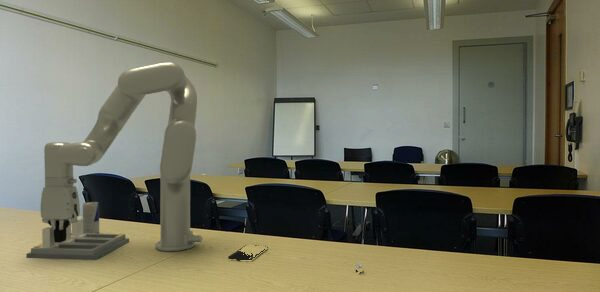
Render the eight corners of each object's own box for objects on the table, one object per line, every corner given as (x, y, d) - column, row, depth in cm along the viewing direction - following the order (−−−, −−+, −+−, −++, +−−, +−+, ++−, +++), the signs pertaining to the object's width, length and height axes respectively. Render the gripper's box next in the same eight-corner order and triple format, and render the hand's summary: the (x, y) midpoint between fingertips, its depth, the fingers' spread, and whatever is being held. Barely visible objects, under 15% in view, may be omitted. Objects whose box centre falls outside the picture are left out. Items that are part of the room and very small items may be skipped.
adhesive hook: (353, 272, 112) (353, 261, 112) (361, 271, 113) (361, 260, 113) (358, 276, 110) (358, 265, 110) (366, 275, 111) (367, 264, 110)
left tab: (59, 249, 127) (59, 227, 126) (52, 252, 123) (51, 229, 123) (45, 248, 127) (45, 226, 127) (38, 252, 123) (37, 229, 123)
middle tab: (74, 243, 133) (74, 222, 133) (68, 246, 130) (68, 224, 129) (62, 243, 133) (61, 222, 133) (55, 246, 130) (55, 224, 130)
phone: (268, 246, 134) (250, 259, 119) (268, 249, 134) (250, 263, 119) (246, 244, 136) (226, 257, 121) (246, 247, 136) (226, 260, 121)
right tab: (86, 238, 139) (86, 218, 139) (80, 241, 136) (80, 220, 136) (74, 238, 140) (74, 218, 140) (68, 240, 136) (67, 220, 136)
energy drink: (102, 233, 151) (102, 202, 151) (93, 237, 146) (93, 204, 145) (88, 233, 151) (88, 201, 151) (79, 237, 146) (79, 204, 146)
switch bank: (129, 241, 140) (129, 233, 140) (96, 259, 120) (96, 250, 120) (68, 240, 142) (68, 231, 142) (26, 257, 122) (26, 247, 122)
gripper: (89, 181, 127) (90, 238, 128) (44, 180, 128) (45, 237, 129) (75, 184, 120) (76, 245, 120) (27, 183, 121) (28, 244, 121)
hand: (60, 241), depth 125 cm, fingers closed
